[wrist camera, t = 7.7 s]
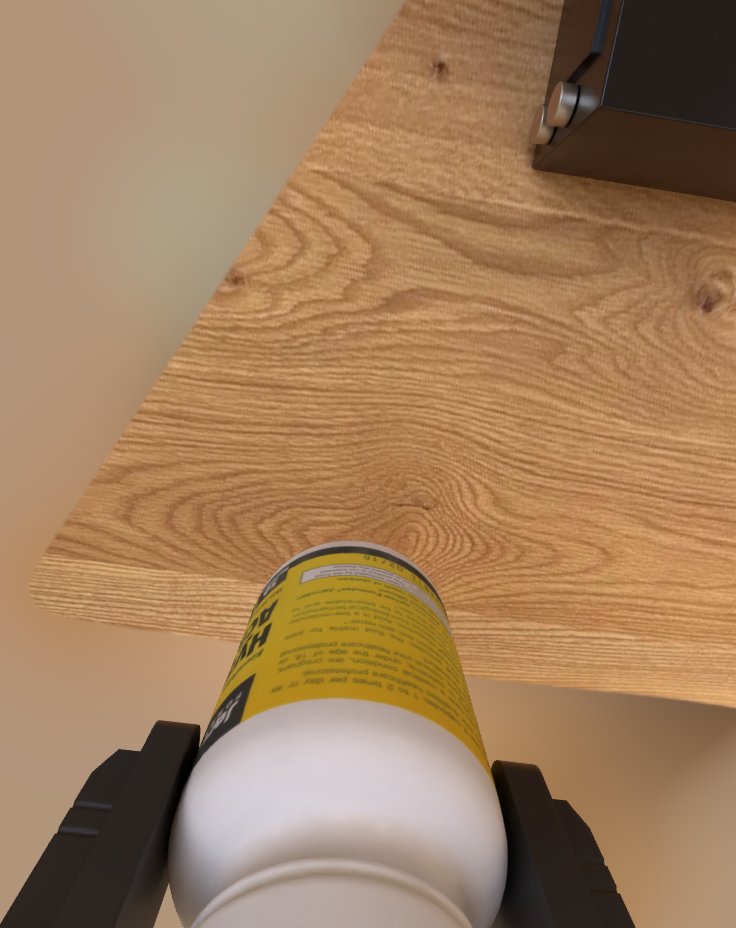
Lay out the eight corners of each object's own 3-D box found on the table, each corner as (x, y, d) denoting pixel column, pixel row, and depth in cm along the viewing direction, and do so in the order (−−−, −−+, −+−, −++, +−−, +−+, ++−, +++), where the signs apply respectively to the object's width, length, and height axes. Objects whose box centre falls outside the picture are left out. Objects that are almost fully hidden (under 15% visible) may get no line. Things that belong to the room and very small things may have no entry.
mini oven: (516, 166, 28) (579, 103, 20) (559, -62, 25) (648, -234, 18) (747, 204, 28) (894, 156, 21) (810, -15, 26) (1004, -161, 18)
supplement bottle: (263, 521, 14) (68, 910, 5) (460, 548, 14) (653, 965, 5) (244, 693, 15) (62, 1268, 6) (425, 714, 16) (525, 1296, 6)
